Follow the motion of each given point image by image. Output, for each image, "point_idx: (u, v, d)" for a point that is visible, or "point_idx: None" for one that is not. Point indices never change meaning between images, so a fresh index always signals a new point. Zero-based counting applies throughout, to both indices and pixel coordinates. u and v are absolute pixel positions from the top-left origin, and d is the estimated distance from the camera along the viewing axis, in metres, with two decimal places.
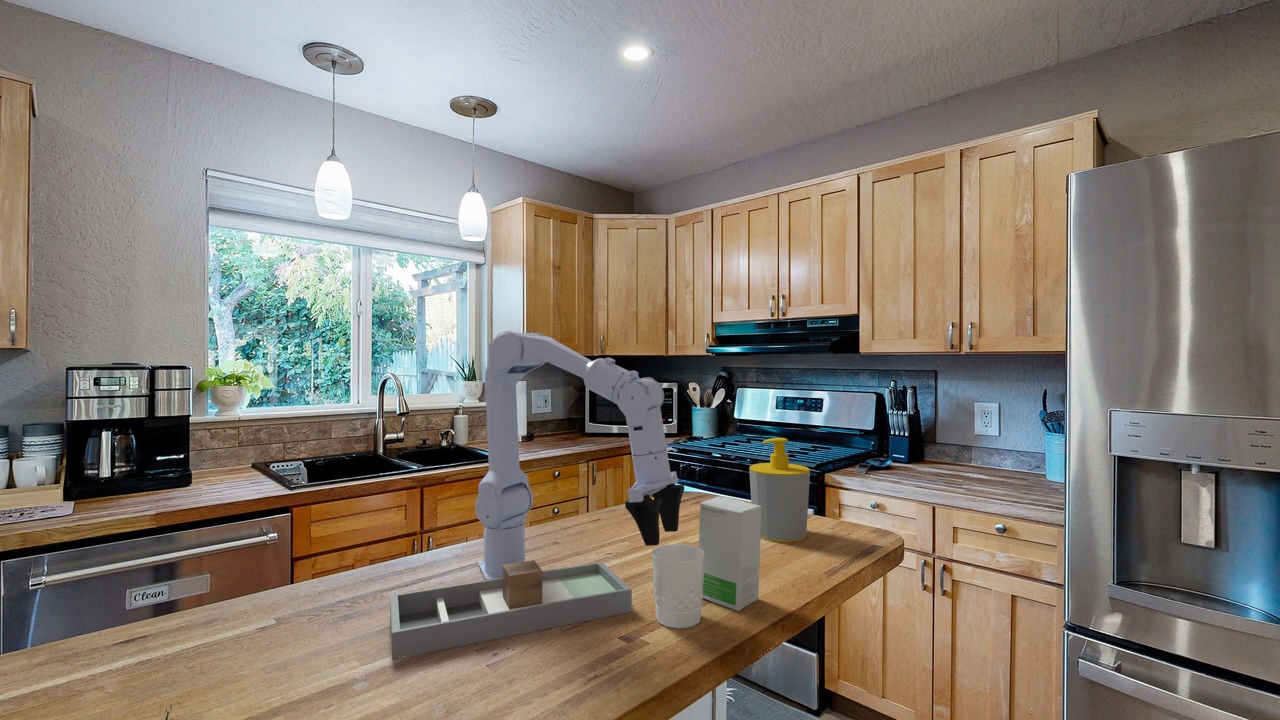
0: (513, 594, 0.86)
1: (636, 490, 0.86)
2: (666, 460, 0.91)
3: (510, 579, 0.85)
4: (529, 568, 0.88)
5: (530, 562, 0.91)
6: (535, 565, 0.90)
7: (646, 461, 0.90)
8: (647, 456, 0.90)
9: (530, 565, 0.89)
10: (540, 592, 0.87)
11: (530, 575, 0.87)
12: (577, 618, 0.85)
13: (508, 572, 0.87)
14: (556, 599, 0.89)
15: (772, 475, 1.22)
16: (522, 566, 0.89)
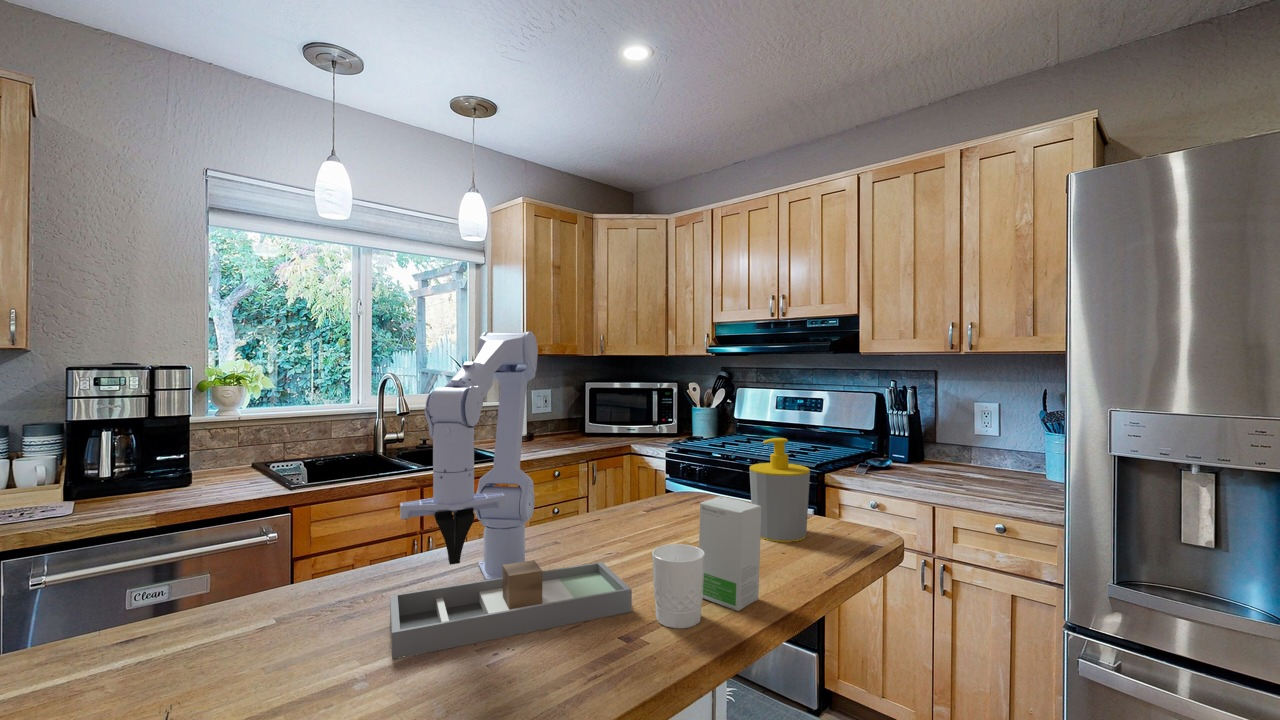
0: (513, 594, 0.86)
1: (400, 506, 0.81)
2: (455, 483, 0.82)
3: (510, 579, 0.85)
4: (529, 568, 0.88)
5: (530, 562, 0.91)
6: (535, 565, 0.90)
7: (434, 478, 0.83)
8: (434, 473, 0.82)
9: (530, 565, 0.89)
10: (540, 592, 0.87)
11: (530, 575, 0.87)
12: (577, 618, 0.85)
13: (508, 572, 0.87)
14: (556, 599, 0.89)
15: (772, 475, 1.22)
16: (522, 566, 0.89)
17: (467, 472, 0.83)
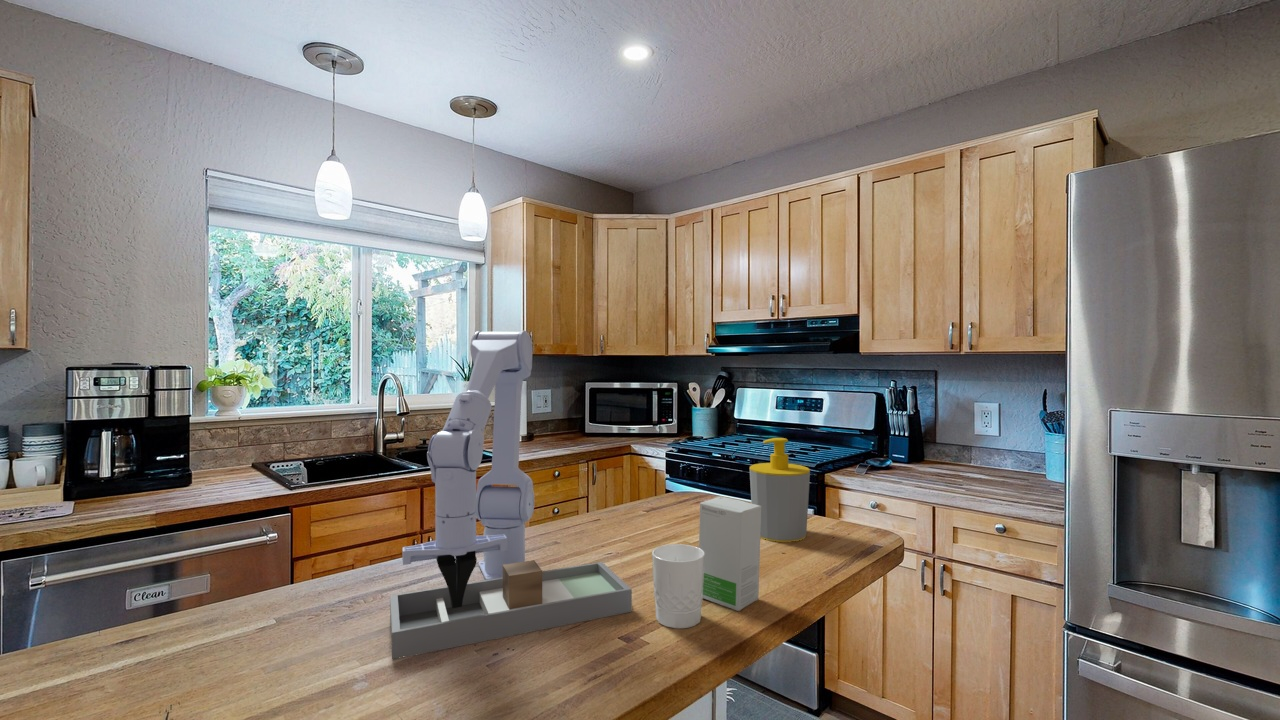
0: (513, 594, 0.86)
1: (402, 551, 0.81)
2: (457, 527, 0.82)
3: (510, 579, 0.85)
4: (529, 568, 0.88)
5: (530, 562, 0.91)
6: (535, 565, 0.90)
7: (436, 522, 0.83)
8: (437, 518, 0.83)
9: (530, 565, 0.89)
10: (540, 592, 0.87)
11: (530, 575, 0.87)
12: (577, 618, 0.85)
13: (508, 572, 0.87)
14: (556, 599, 0.89)
15: (772, 475, 1.22)
16: (522, 566, 0.89)
17: (469, 516, 0.83)
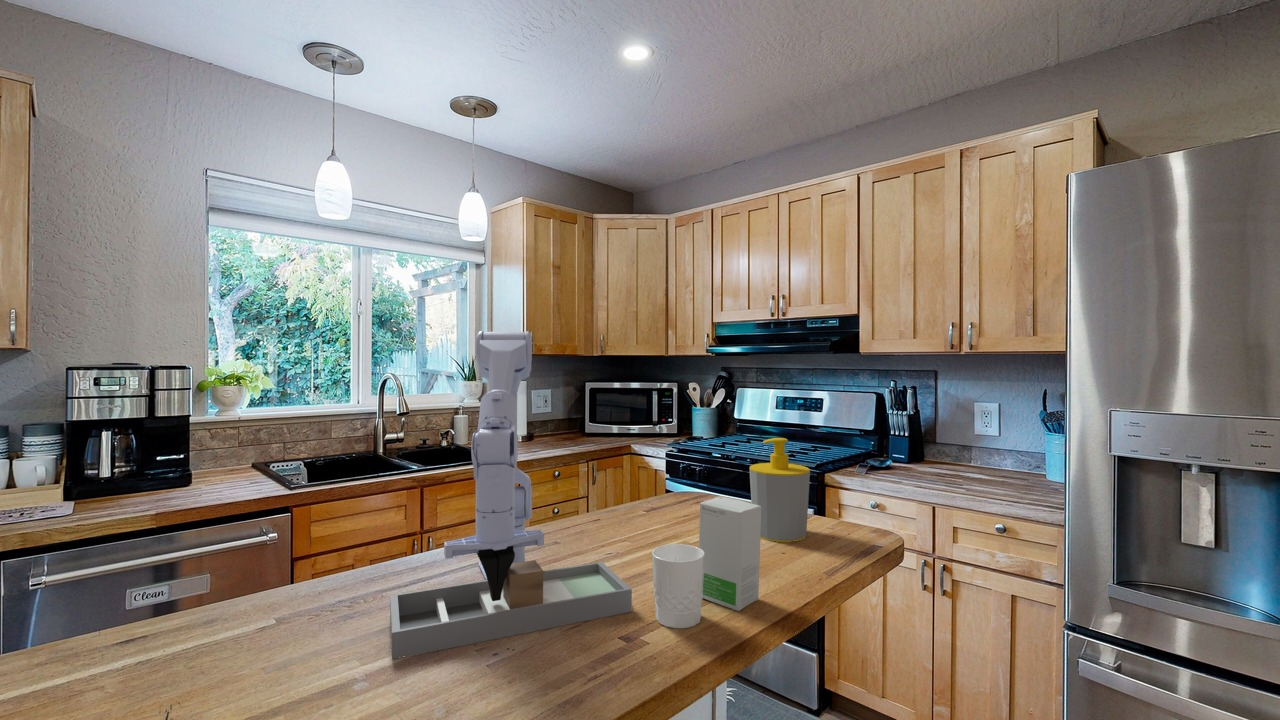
0: (514, 593, 0.86)
1: (445, 545, 0.83)
2: (498, 522, 0.84)
3: (511, 579, 0.85)
4: (530, 568, 0.88)
5: (531, 562, 0.91)
6: (535, 565, 0.90)
7: (477, 518, 0.85)
8: (477, 513, 0.85)
9: (531, 565, 0.89)
10: (541, 592, 0.87)
11: (531, 575, 0.87)
12: (577, 618, 0.85)
13: (509, 572, 0.87)
14: (556, 599, 0.89)
15: (772, 475, 1.22)
16: (522, 566, 0.89)
17: (509, 512, 0.85)
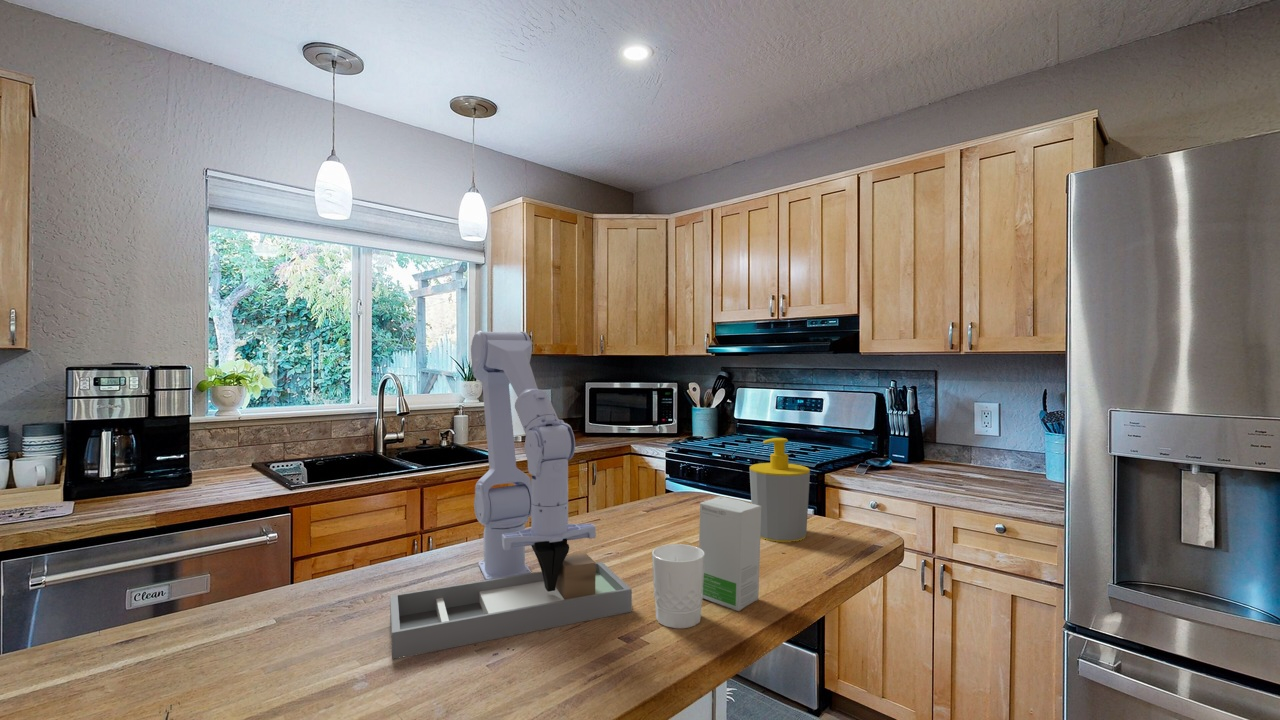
0: (568, 584, 0.89)
1: (503, 538, 0.87)
2: (554, 516, 0.88)
3: (566, 570, 0.89)
4: (582, 560, 0.92)
5: (582, 554, 0.94)
6: (587, 557, 0.93)
7: (533, 511, 0.89)
8: (534, 507, 0.88)
9: (583, 557, 0.93)
10: (593, 583, 0.91)
11: (584, 567, 0.90)
12: (577, 618, 0.85)
13: (563, 563, 0.90)
14: (556, 599, 0.89)
15: (772, 475, 1.22)
16: (575, 558, 0.92)
17: (564, 505, 0.89)
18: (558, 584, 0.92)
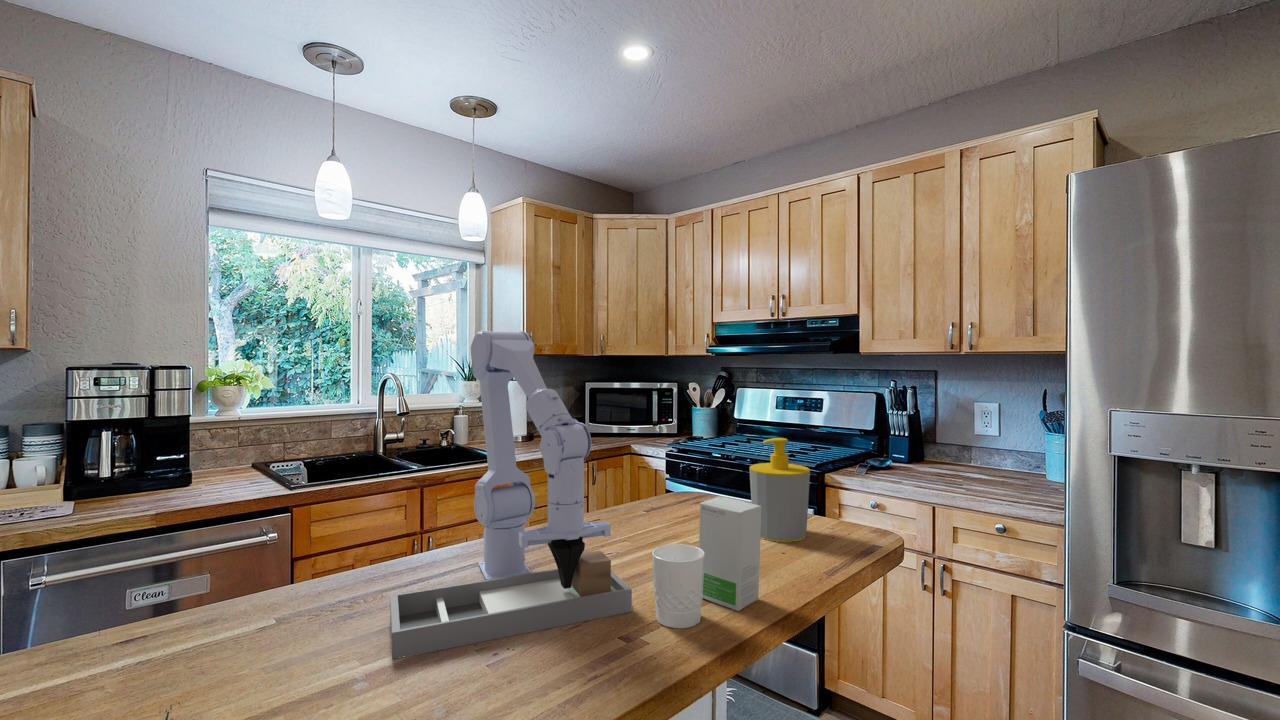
0: (584, 581, 0.90)
1: (520, 536, 0.88)
2: (570, 514, 0.89)
3: (582, 568, 0.90)
4: (598, 557, 0.93)
5: (597, 552, 0.95)
6: (602, 555, 0.94)
7: (549, 509, 0.90)
8: (550, 505, 0.89)
9: (598, 555, 0.94)
10: (609, 581, 0.92)
11: (600, 564, 0.91)
12: (577, 618, 0.85)
13: (579, 561, 0.91)
14: (556, 599, 0.89)
15: (772, 475, 1.22)
16: (590, 556, 0.93)
17: (580, 504, 0.90)
18: (573, 581, 0.93)
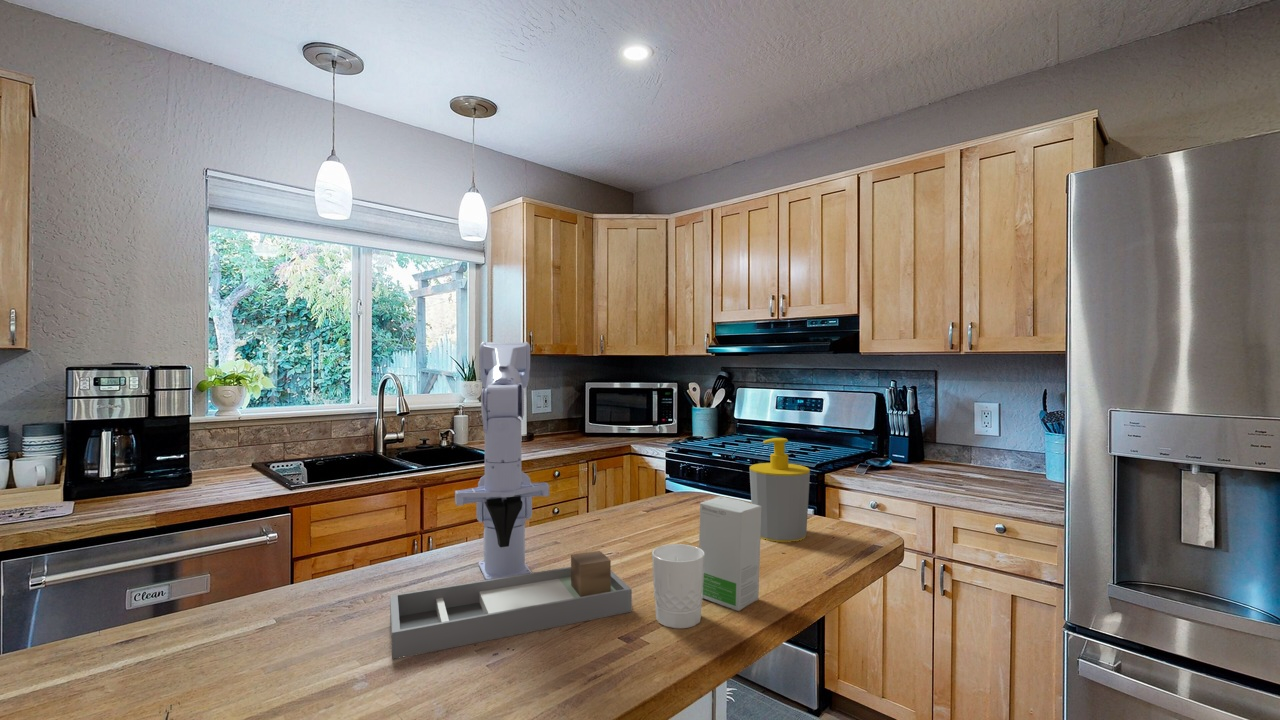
0: (584, 582, 0.90)
1: (456, 493, 0.88)
2: (506, 472, 0.89)
3: (581, 568, 0.90)
4: (597, 558, 0.93)
5: (596, 552, 0.95)
6: (602, 555, 0.94)
7: (486, 468, 0.90)
8: (486, 463, 0.90)
9: (598, 555, 0.94)
10: (608, 581, 0.92)
11: (599, 564, 0.91)
12: (577, 618, 0.85)
13: (578, 561, 0.91)
14: (556, 599, 0.89)
15: (772, 475, 1.22)
16: (590, 556, 0.93)
17: (516, 462, 0.90)
18: (573, 582, 0.93)
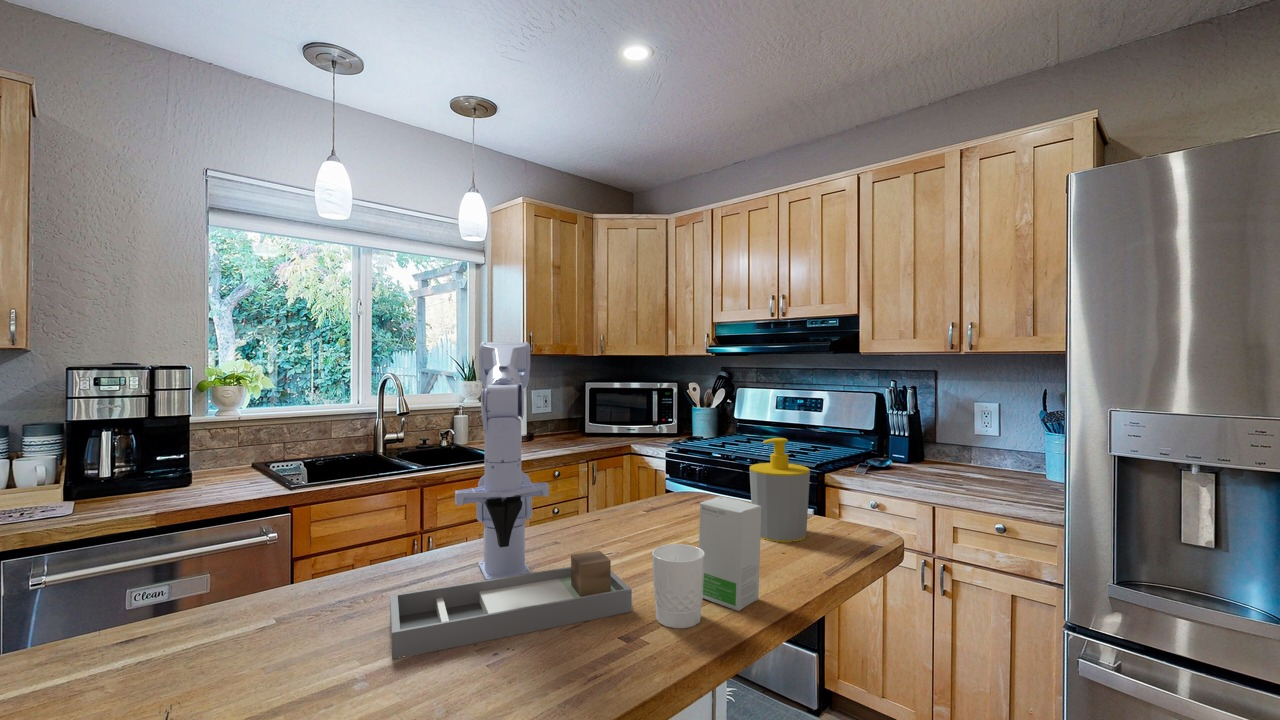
0: (584, 582, 0.90)
1: (456, 493, 0.88)
2: (506, 472, 0.89)
3: (581, 568, 0.90)
4: (597, 558, 0.93)
5: (596, 552, 0.95)
6: (602, 555, 0.94)
7: (485, 468, 0.90)
8: (486, 463, 0.90)
9: (598, 555, 0.94)
10: (608, 581, 0.92)
11: (599, 564, 0.91)
12: (577, 618, 0.85)
13: (578, 561, 0.91)
14: (556, 599, 0.89)
15: (772, 475, 1.22)
16: (590, 556, 0.93)
17: (516, 462, 0.90)
18: (573, 582, 0.93)
